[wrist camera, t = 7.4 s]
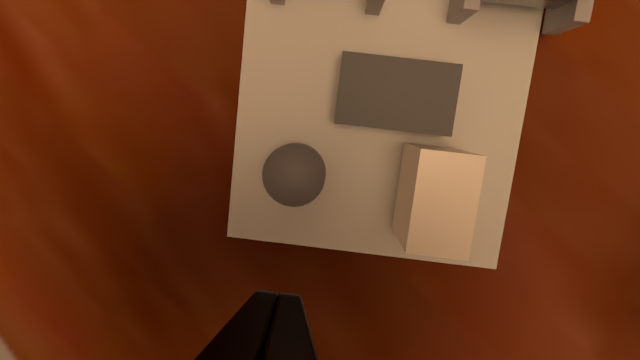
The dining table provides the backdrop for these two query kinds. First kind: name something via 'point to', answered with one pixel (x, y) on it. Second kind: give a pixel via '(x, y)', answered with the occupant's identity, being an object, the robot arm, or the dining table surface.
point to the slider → (437, 200)
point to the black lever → (533, 3)
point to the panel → (371, 154)
